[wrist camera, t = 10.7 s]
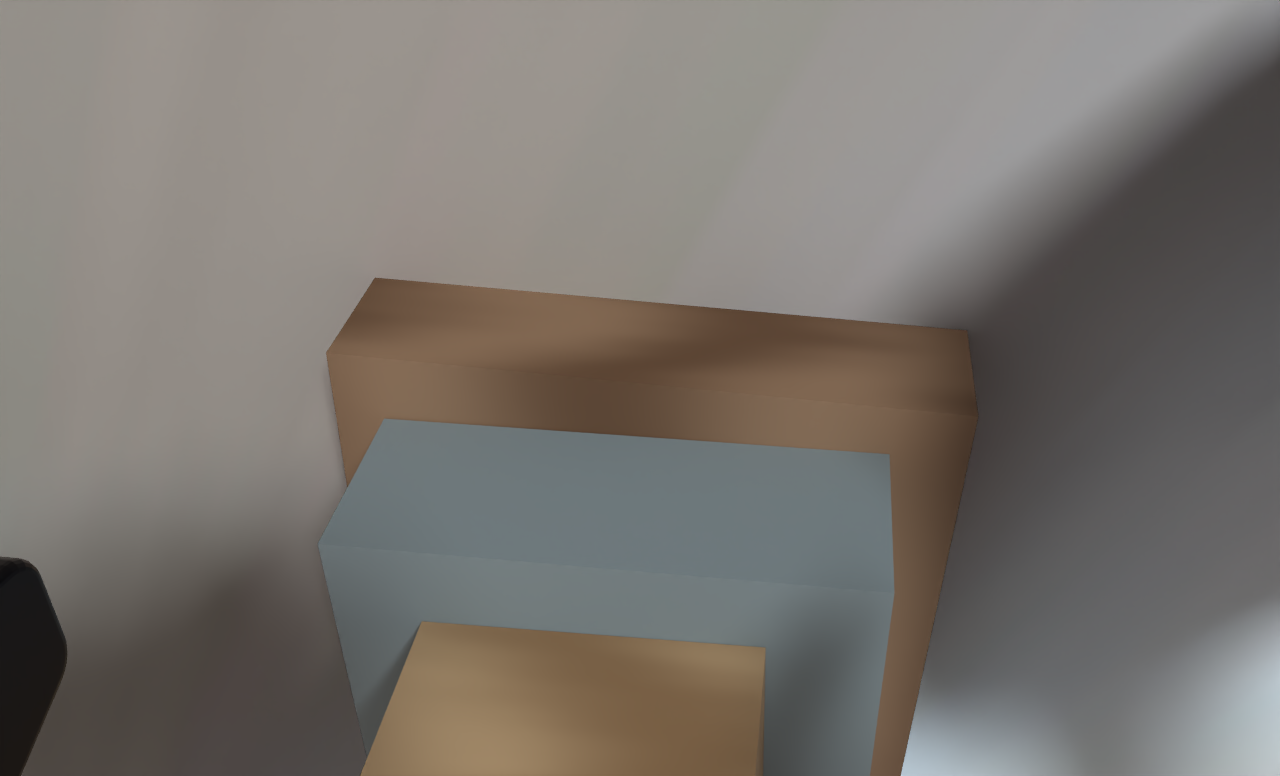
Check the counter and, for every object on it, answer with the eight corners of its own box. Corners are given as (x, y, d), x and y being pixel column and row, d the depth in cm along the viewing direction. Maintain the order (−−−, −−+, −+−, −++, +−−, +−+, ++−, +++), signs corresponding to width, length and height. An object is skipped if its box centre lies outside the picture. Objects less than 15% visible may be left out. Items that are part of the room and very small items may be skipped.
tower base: (964, 311, 20) (978, 416, 18) (886, 710, 26) (888, 830, 24) (386, 260, 22) (325, 353, 19) (433, 653, 27) (391, 762, 25)
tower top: (889, 454, 19) (894, 593, 16) (849, 787, 23) (848, 934, 21) (384, 419, 20) (317, 544, 17) (441, 743, 24) (394, 879, 22)
